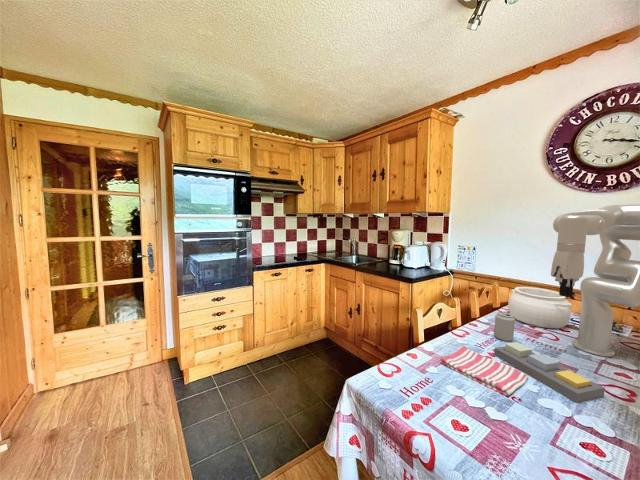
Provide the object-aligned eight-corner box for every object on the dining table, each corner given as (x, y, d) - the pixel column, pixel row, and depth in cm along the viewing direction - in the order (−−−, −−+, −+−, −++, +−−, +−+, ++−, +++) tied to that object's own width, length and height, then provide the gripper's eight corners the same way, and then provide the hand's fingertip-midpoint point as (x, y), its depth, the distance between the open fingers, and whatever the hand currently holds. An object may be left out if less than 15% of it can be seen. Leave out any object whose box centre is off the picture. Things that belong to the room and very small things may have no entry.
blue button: (539, 361, 96) (540, 353, 96) (558, 370, 91) (558, 362, 90) (527, 363, 95) (528, 355, 95) (545, 372, 89) (546, 364, 89)
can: (516, 342, 116) (518, 317, 115) (498, 341, 117) (500, 315, 116) (508, 335, 123) (510, 311, 122) (490, 333, 125) (492, 310, 124)
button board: (516, 351, 108) (517, 344, 108) (603, 396, 81) (604, 387, 81) (494, 354, 105) (494, 348, 105) (576, 402, 78) (577, 393, 78)
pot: (494, 313, 153) (496, 286, 151) (528, 309, 159) (530, 284, 158) (546, 334, 125) (549, 301, 124) (585, 329, 132) (588, 298, 130)
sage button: (516, 349, 105) (516, 342, 105) (531, 356, 99) (532, 349, 99) (504, 350, 104) (505, 343, 103) (519, 358, 98) (520, 351, 98)
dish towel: (461, 351, 108) (461, 343, 108) (529, 380, 89) (530, 371, 89) (439, 364, 99) (439, 355, 98) (510, 400, 80) (510, 389, 79)
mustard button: (567, 378, 88) (568, 370, 88) (589, 389, 82) (590, 380, 82) (554, 380, 86) (555, 372, 86) (576, 392, 81) (577, 383, 80)
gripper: (572, 247, 101) (568, 292, 102) (544, 247, 97) (540, 294, 99) (597, 249, 93) (591, 298, 95) (567, 250, 90) (562, 300, 91)
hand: (565, 296), depth 97 cm, fingers closed
